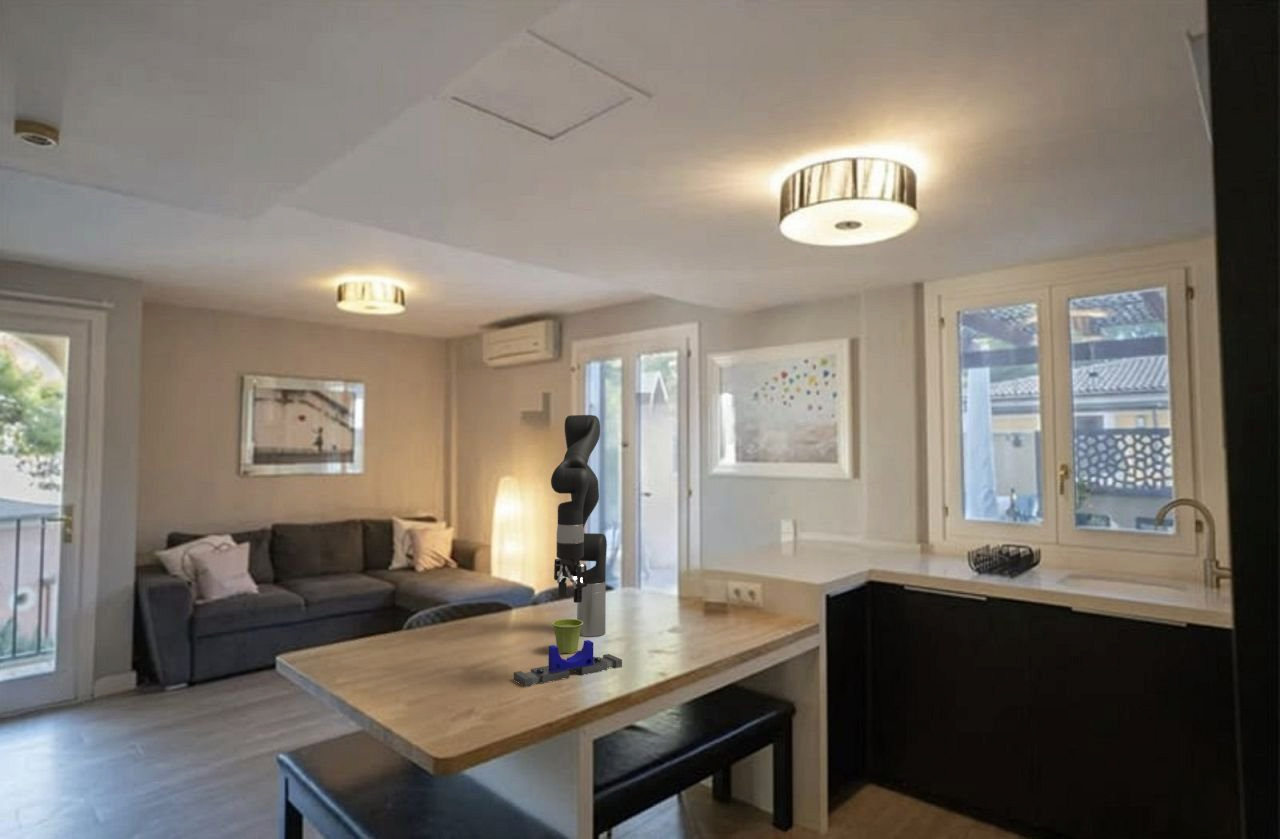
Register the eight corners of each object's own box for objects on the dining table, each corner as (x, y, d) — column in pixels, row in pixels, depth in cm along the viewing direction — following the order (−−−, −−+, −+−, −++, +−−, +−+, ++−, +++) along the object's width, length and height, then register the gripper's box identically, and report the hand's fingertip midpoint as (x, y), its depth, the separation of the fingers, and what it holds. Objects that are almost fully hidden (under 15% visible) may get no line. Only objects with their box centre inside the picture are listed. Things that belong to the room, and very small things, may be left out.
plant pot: (589, 651, 212) (589, 622, 212) (566, 657, 205) (566, 627, 206) (569, 645, 218) (569, 617, 219) (545, 651, 211) (545, 622, 212)
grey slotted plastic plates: (513, 679, 185) (513, 670, 185) (608, 660, 202) (608, 651, 202) (525, 687, 179) (525, 676, 179) (622, 666, 196) (622, 657, 196)
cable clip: (586, 660, 196) (586, 638, 196) (593, 664, 192) (593, 642, 192) (546, 666, 190) (546, 644, 190) (552, 671, 186) (552, 648, 186)
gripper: (546, 538, 196) (545, 596, 195) (571, 544, 184) (570, 606, 184) (569, 536, 200) (569, 593, 200) (595, 542, 189) (595, 602, 188)
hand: (569, 599), depth 192 cm, fingers open, 8 cm apart
